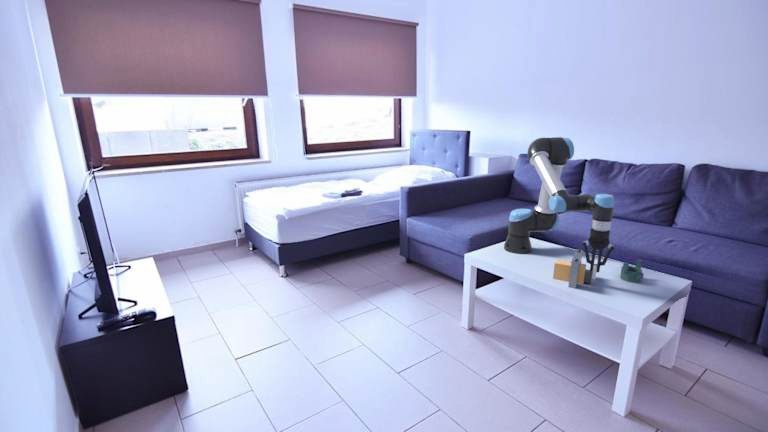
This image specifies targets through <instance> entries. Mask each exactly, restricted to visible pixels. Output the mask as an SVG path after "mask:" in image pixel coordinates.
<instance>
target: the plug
mask: <svg viewBox="0 0 768 432" xmlns="http://www.w3.org/2000/svg"><path fill="white" fill-rule="evenodd" d="M571 263H572V261H567V260H562V259H555V261H554V266H553V275H552V276H553V277H552V279H554V280H558V281H559V280H560V281H563V282H567V283H569V278H570V270H571ZM592 272H593V271H590V269H587V264H586V263H581V264H580V265H579V272H578V279H577V285H578V284H579V285H584V283H589V284H592V280H593V279H592Z"/></svg>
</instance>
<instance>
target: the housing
mask: <svg viewBox="0 0 768 432" xmlns="http://www.w3.org/2000/svg"><path fill="white" fill-rule="evenodd" d="M583 252H584V249H580V248H579V249H577V248H575V251H574V254H573V255H572V256H573V257H572V260H571V262H572V263H571V270H570V278H569V282H568V288H572V289H577V285H578V283H577V279H578V272H579V265H580V264H582V259H583V254H584V253H583Z"/></svg>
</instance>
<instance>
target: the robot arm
mask: <svg viewBox="0 0 768 432" xmlns="http://www.w3.org/2000/svg"><path fill="white" fill-rule="evenodd" d="M574 154H575V145H574V143H573V141H572V140H571V139H570V138H568V137H562V136H560V137H559V136H557V137H538V138H537V139H535V140H533V141H532V142H531V143H530V145H529V146H528V149H527V159H528V161H529V163H530V164H531V166H534V168H535V170H536V172H537V174H538V176H539V178H540V180H541V187H540V192H539V195H538V196H539V197H538V203H537V204H536V205H535V206H534V208H533V211H532V209H530V208H515V209H513V210H512V211H511V212H510V213H509V214H510V215H509V219H508V234H507V237H506V239H505V242H504V244H503V250H505V251H507V252H509V253H512V254H513V253H514V254H529V253H531V252H532V248H533V247H532V243H531V239H530V235H531V233H537V232H539V233H541V232H547V233H548V232H551V231H554V230H555V229H556V228H558V225H559V223H560V222H559V219H560V218H559V217H560V215H559V213H569V212H589V213H592V220H591V226H590V227H591V228H590V233H589V238H588V239H587V240H583V241H582V246H583V247H584V252H585V253H584V255H585V260H586V263H588V264H590V267H589V270H590V271H593V272H592V280H596V276H597V273H600V269H601V266H603V267H604V266H605V265H606V263H607V261H608V259H609V257H610V255H611V253H612V251H613V250H614V249H615V245H614V244H612V243H611V242H610V235H611V229H612V228H611V227H612V221H613V214H614V210H615V209H614V207H615V197H614V195H612V194H607V193H597V194H596V195H593V194H590V193H584V192H583V193H580V194H578V195H576V194H575V195H573V194H572V195H570V194H569V192H568V191H567V190H566V189H567V188H566V187H565V186H564V183H563V182H562V180H561V177H562V172H563V168H564V167H565V166H567V163H568V161H569V160H572V158H573V157H574ZM589 245H590V247H591V248H592V252H591V253H592V254H591V258H590V251H589ZM605 248H608V249H607V250H606V252H605V253H606V254H605V255H604V258H602V257H603V255H602V254H603V250H604V249H605ZM596 250H598V257H597V263H595V258H596ZM602 259H603V260H602Z"/></svg>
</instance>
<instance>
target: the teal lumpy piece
mask: <svg viewBox="0 0 768 432" xmlns="http://www.w3.org/2000/svg"><path fill="white" fill-rule="evenodd" d="M642 263H643V260H642V259H637V260H636V265H635V266H632V265H630V263H629V262H624V263H623V265H622V266H621V268H620V274H619V278H620V279H621V280H622V281H625V282H628V283H634V284H636V283H640V282H641V281H642V280H643V279H644V273H643V270H642Z"/></svg>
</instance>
